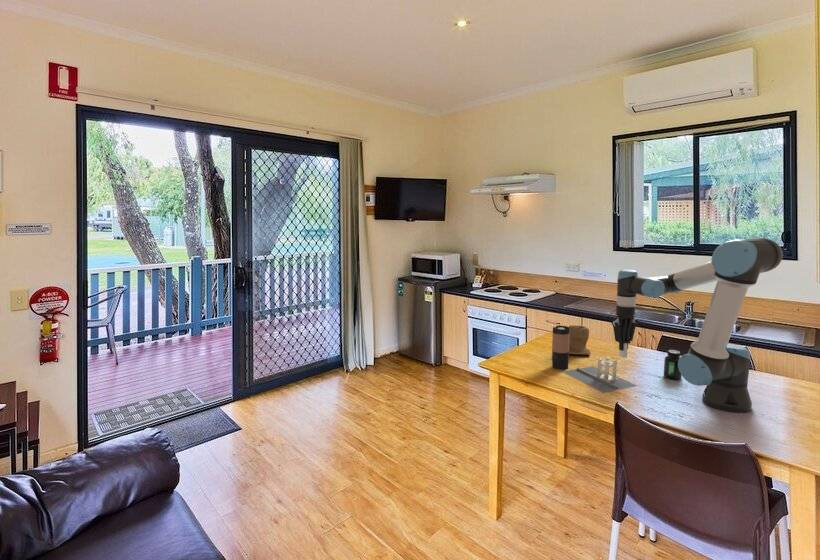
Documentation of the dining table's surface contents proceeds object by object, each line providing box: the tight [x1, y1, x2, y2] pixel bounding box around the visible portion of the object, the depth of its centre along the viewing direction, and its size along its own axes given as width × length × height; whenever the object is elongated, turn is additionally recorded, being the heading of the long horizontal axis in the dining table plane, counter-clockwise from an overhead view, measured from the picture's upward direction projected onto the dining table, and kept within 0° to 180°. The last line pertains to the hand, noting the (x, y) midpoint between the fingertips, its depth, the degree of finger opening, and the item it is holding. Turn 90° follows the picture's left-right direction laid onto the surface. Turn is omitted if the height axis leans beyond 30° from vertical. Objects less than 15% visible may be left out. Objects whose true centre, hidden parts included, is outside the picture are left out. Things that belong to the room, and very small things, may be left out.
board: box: [561, 365, 638, 394], centre depth 190 cm, size 26×18×1 cm
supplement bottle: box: [663, 349, 683, 381], centre depth 189 cm, size 7×7×12 cm
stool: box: [597, 356, 618, 382], centre depth 189 cm, size 6×6×9 cm
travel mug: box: [551, 325, 570, 371], centre depth 204 cm, size 8×8×20 cm
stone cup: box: [568, 324, 592, 356], centre depth 225 cm, size 15×12×15 cm
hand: (623, 356), depth 191 cm, fingers closed
